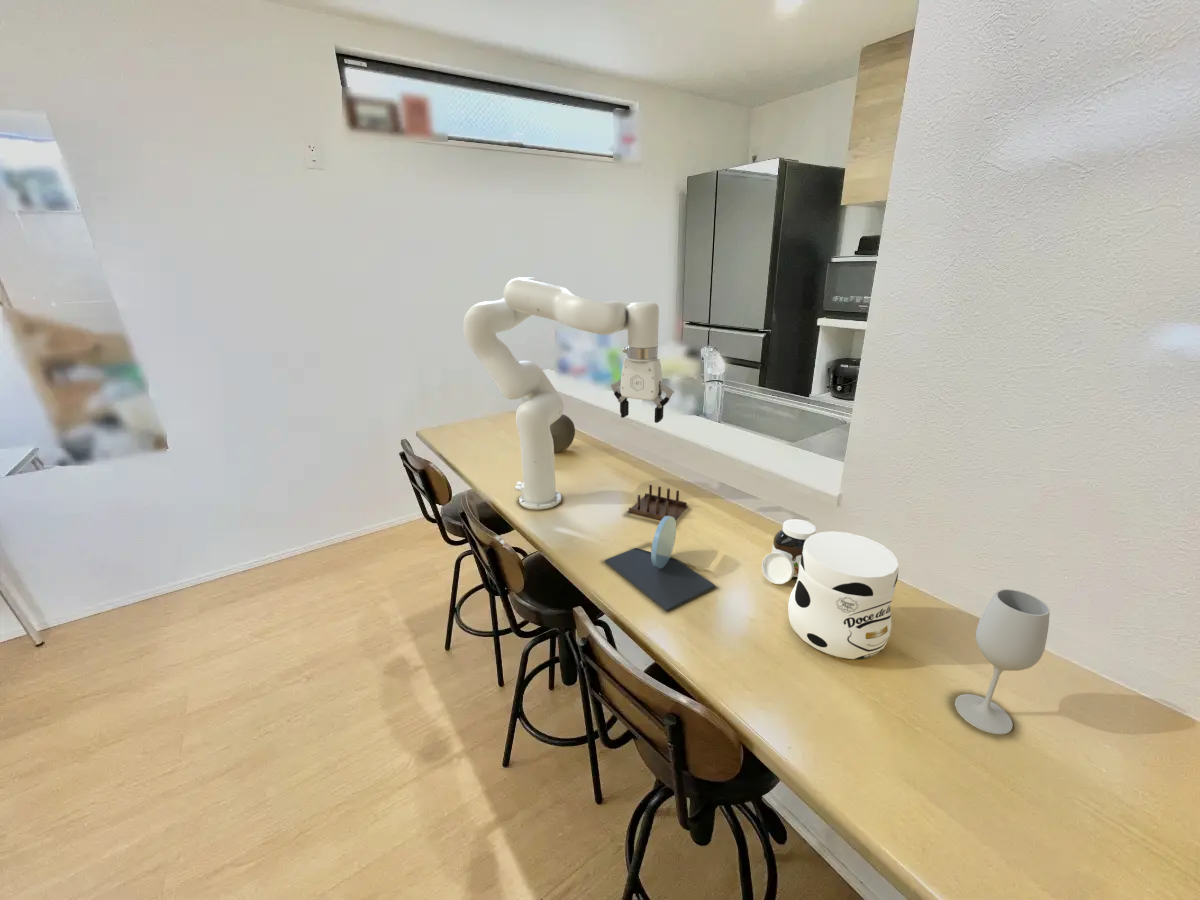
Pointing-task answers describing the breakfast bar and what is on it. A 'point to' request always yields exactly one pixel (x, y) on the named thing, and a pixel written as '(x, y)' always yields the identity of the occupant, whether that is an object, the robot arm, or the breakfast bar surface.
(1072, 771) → the breakfast bar surface
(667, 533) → the plate
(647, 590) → the mat
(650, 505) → the rack
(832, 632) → the milk container
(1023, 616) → the wineglass
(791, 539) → the spread jar
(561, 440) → the dark grey ball
